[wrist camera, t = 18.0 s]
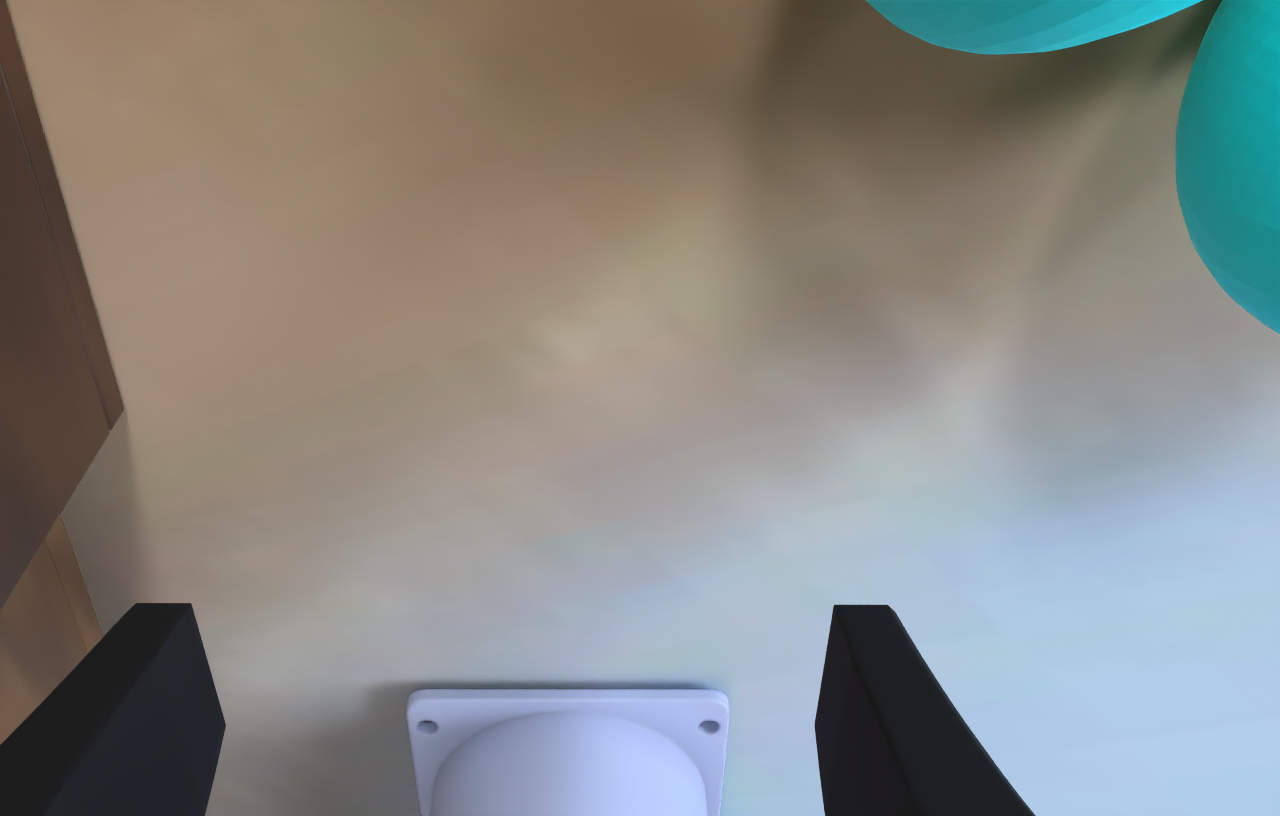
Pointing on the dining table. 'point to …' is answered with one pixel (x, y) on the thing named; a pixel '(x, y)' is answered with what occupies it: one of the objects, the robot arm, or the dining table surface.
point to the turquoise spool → (1208, 119)
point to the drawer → (43, 629)
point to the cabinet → (41, 335)
